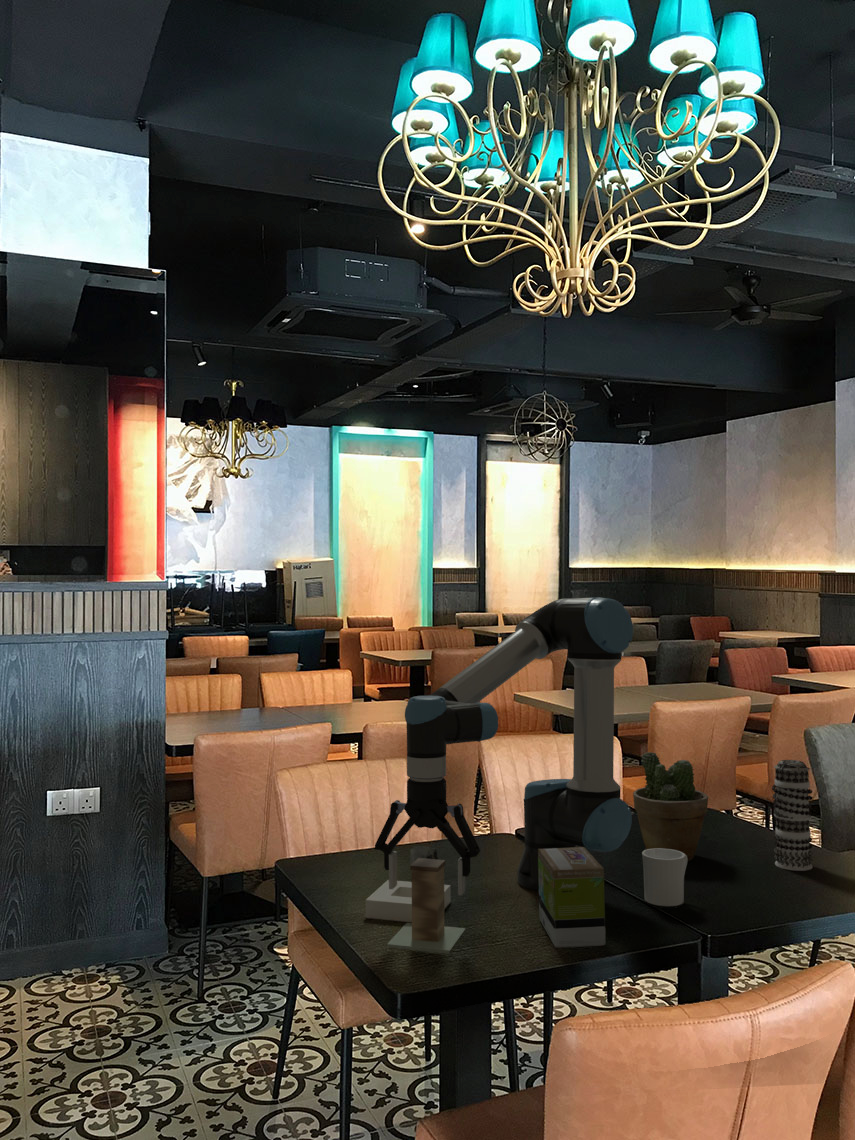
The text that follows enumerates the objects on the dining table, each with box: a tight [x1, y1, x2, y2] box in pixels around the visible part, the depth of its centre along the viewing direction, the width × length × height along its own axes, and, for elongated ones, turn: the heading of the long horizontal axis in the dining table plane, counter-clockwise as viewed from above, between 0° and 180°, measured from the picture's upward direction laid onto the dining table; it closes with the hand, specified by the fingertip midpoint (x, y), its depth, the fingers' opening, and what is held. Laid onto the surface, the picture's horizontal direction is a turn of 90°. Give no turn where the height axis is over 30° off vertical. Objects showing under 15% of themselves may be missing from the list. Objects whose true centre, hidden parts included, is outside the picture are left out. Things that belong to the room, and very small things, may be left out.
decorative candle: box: [771, 759, 814, 872], centre depth 226 cm, size 9×9×25 cm
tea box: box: [538, 846, 606, 948], centre depth 181 cm, size 15×10×15 cm, turn 5°
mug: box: [641, 848, 689, 909], centre depth 200 cm, size 11×9×10 cm
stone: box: [409, 845, 440, 872], centre depth 212 cm, size 10×10×10 cm
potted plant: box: [632, 751, 709, 862], centre depth 235 cm, size 18×19×25 cm
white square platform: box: [365, 879, 452, 923], centre depth 194 cm, size 14×14×4 cm
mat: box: [386, 922, 467, 955], centre depth 178 cm, size 12×12×1 cm
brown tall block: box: [409, 858, 446, 942], centre depth 178 cm, size 5×5×14 cm
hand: (427, 890), depth 179 cm, fingers open, 13 cm apart
